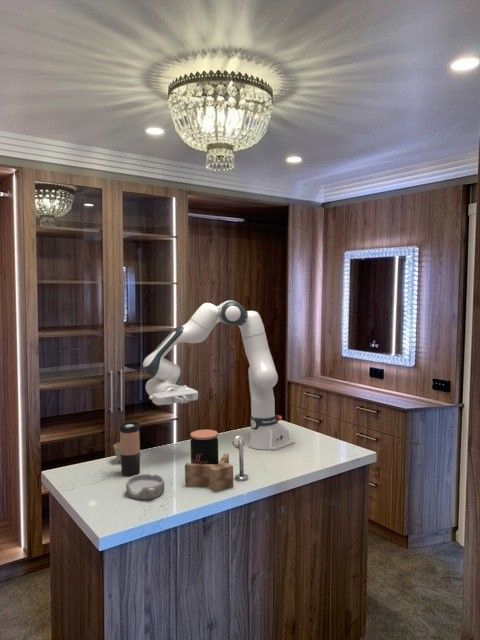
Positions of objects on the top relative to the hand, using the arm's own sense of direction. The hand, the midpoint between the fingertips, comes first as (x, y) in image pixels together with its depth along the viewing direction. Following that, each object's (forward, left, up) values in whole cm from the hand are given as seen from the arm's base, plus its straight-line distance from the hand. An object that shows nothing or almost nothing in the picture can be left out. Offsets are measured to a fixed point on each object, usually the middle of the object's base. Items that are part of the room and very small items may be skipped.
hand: (184, 401), depth 201 cm
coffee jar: (+1, +17, -27) cm, 33 cm away
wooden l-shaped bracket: (+1, +24, -27) cm, 36 cm away
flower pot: (+18, -21, -27) cm, 39 cm away
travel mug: (+22, -6, -27) cm, 36 cm away
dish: (+25, +15, -28) cm, 40 cm away
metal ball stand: (-10, +26, -27) cm, 39 cm away
